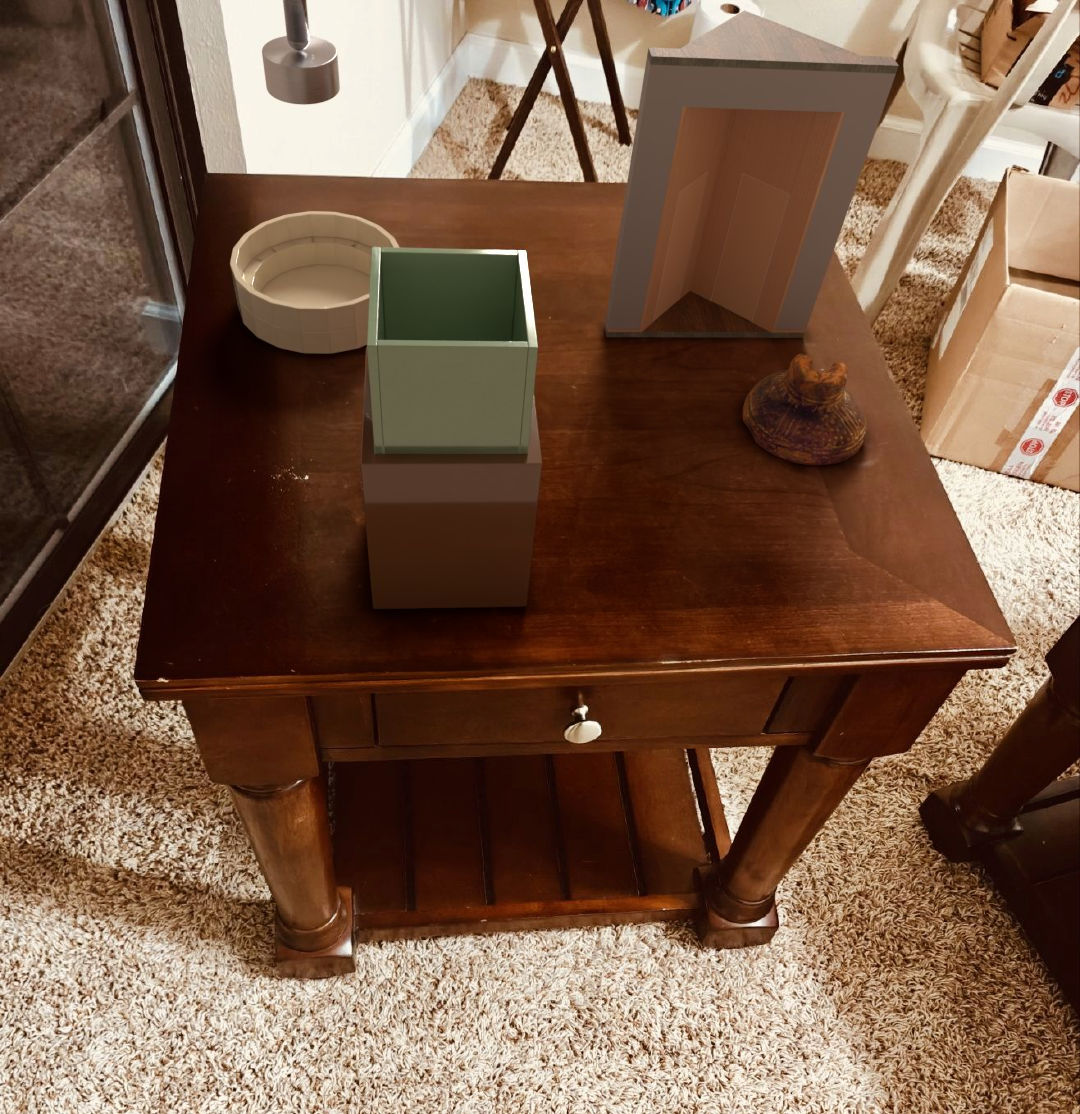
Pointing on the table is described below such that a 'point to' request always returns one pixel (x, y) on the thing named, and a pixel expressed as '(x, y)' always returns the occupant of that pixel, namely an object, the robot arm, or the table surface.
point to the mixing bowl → (307, 280)
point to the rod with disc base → (300, 61)
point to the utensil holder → (450, 428)
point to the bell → (806, 414)
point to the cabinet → (741, 180)
